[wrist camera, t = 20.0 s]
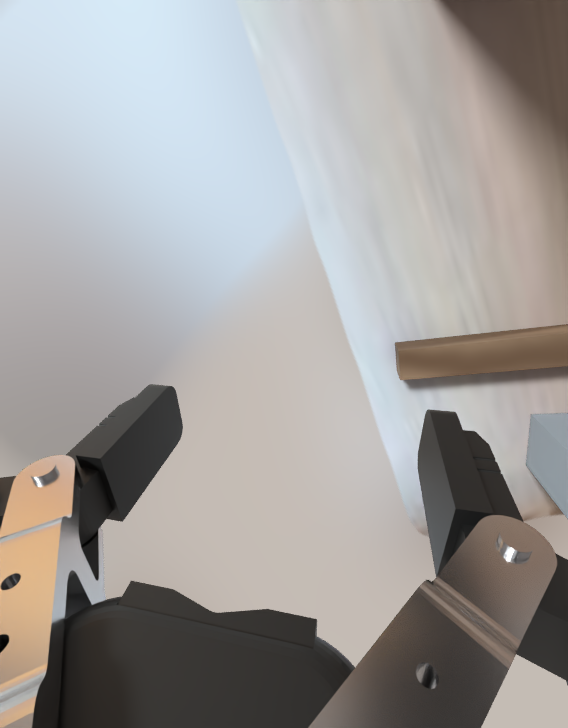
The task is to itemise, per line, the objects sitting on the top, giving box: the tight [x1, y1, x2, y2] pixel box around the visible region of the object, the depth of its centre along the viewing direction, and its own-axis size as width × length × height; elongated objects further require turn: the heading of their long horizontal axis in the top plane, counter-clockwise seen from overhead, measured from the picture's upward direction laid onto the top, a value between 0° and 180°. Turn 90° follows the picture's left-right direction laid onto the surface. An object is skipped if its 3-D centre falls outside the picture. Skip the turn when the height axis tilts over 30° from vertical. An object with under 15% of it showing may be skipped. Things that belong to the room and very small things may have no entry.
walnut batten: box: [395, 324, 568, 380], centre depth 33 cm, size 3×22×3 cm, turn 99°
